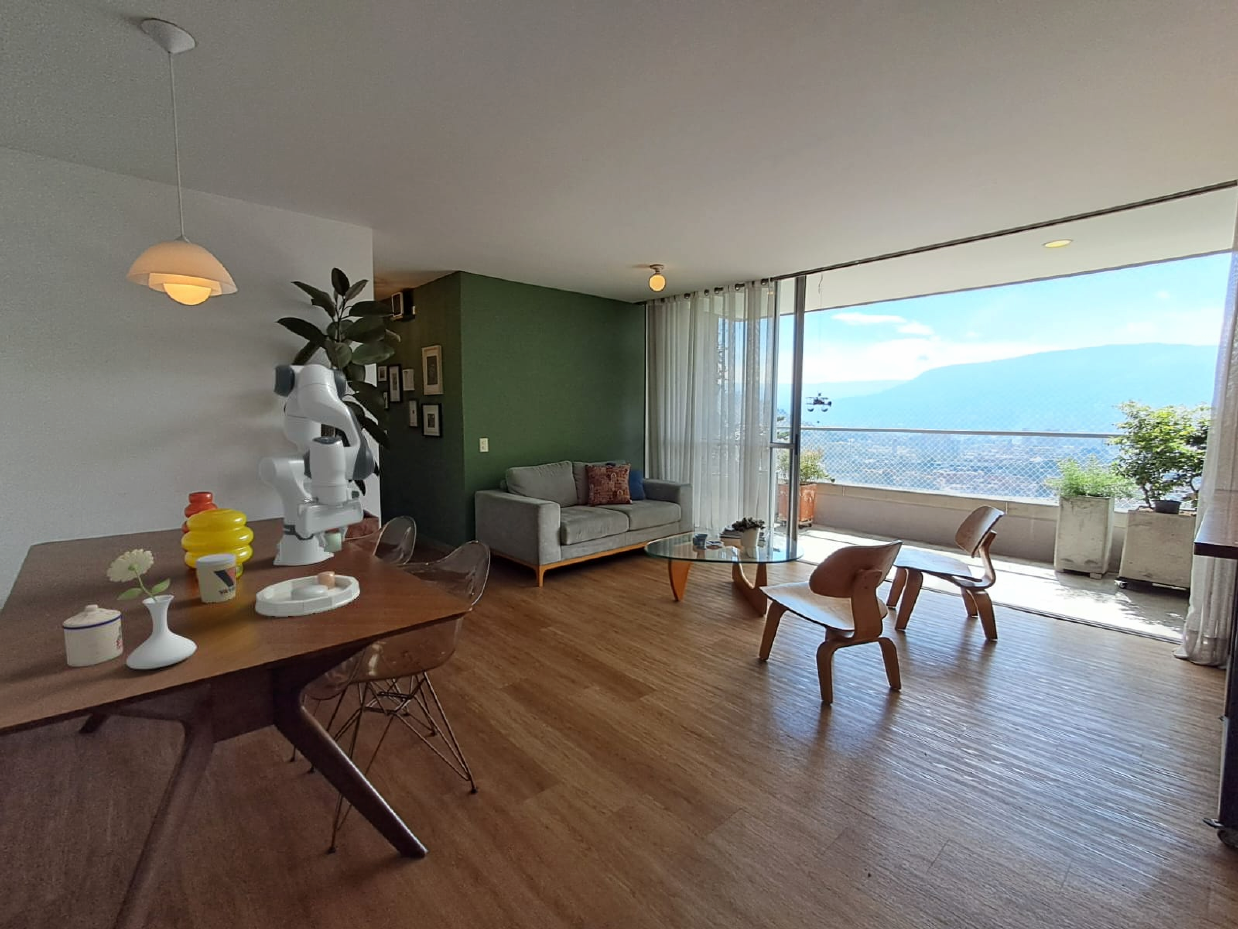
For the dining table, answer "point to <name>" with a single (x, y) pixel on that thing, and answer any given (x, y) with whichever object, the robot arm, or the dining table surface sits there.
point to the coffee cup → (217, 577)
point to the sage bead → (333, 542)
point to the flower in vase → (162, 642)
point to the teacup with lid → (93, 636)
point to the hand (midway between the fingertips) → (332, 544)
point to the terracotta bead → (327, 579)
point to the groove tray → (305, 607)
